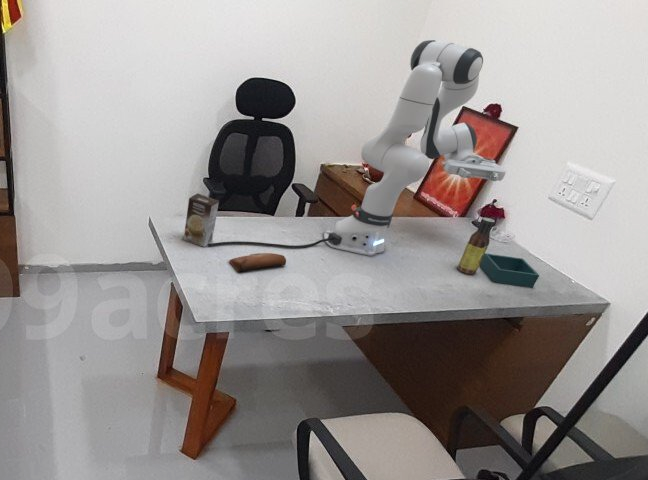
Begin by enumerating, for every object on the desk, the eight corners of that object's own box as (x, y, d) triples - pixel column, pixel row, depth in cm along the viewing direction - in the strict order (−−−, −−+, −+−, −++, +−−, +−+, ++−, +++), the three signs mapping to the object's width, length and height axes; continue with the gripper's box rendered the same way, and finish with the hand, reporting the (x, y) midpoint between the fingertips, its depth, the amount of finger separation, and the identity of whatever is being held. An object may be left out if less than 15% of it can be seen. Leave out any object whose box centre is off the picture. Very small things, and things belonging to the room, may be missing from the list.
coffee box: (182, 239, 186) (187, 197, 177) (191, 234, 191) (196, 192, 182) (204, 247, 182) (211, 205, 174) (213, 241, 187) (219, 200, 178)
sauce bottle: (477, 276, 183) (502, 225, 172) (459, 273, 184) (483, 222, 173) (472, 267, 189) (495, 217, 178) (454, 265, 189) (476, 214, 179)
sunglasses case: (271, 254, 181) (280, 244, 176) (279, 271, 179) (288, 261, 173) (227, 260, 174) (235, 249, 169) (234, 278, 172) (242, 268, 166)
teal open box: (492, 282, 181) (499, 269, 178) (478, 265, 191) (484, 253, 188) (532, 287, 180) (539, 275, 177) (516, 270, 190) (522, 258, 188)
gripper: (442, 153, 193) (455, 164, 182) (498, 160, 192) (515, 172, 180) (436, 169, 197) (448, 181, 185) (491, 177, 195) (506, 189, 184)
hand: (481, 177), depth 183 cm, fingers open, 8 cm apart
